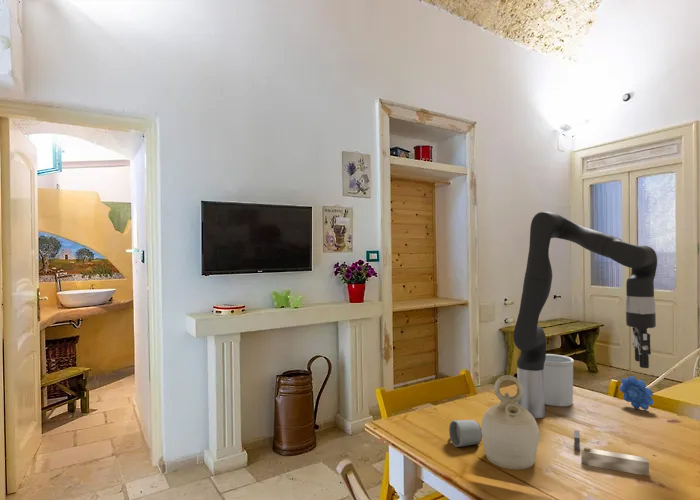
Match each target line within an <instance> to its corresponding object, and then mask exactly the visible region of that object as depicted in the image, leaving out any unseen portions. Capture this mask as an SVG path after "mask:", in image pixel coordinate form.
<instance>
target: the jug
mask: <svg viewBox="0 0 700 500" xmlns="http://www.w3.org/2000/svg"><path fill="white" fill-rule="evenodd" d="M506 382H512V383H513V384H514V385H515V386H516V387H517V388H518V391H517V390H516V394H515V395H513V396H510V393H508V392H505V393H504V394H503V395H502V393H501V392H500V387H501V385H502V384H503V383H506ZM517 388H516V389H517ZM493 390H494V391H493V392H494V395H495V396H496V397H497V399H499V400H500V402H499V403H497V404H494V405H492V406H490V407H489V408H488V409H487V410H485V412H484V414H483V417H482V419H481V424H480V427H481V433H482V443H483V448H484V453H485V456H486V459H487V460H488V461H489V463H491V464H494V465H495V466H497V467H500V468H503V469H509V470H517V471H518V470H526V469H529V468H532V467H533V466H534V464H535V461H536V457H537V453H538V447H539V440H540V430H539V427H538V422H537V421H536V418H534V417H533V416H532V414H531V413H530V412H528V411H527V410H526V409H524V408H523V407H521V406H519V405H518V403H517V401H518V400H519V399H520V398H521V397H522V395H523V387H522V384H521V382H520V381H519V380H518V379H517V377H515V376H514V375H509V374H505V375H502V376H500V377H498V378H497V380H496V381H495V383H494V386H493Z"/></svg>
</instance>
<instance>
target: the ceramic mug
mask: <svg viewBox="0 0 700 500" xmlns="http://www.w3.org/2000/svg"><path fill="white" fill-rule="evenodd" d="M448 427H449V428H448V432H449V437H450V441H451V443H452V445H453V446H454V447H457V448H462V447H467V446H474V445H478V444H480V443H481V442H482V440H483V438H482V433H481V424H480V423H479V422H478V421H476V420H474V419H459V420H458V419H455V420H451V422H450V423H449V426H448Z"/></svg>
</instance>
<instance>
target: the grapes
mask: <svg viewBox="0 0 700 500" xmlns="http://www.w3.org/2000/svg"><path fill="white" fill-rule="evenodd" d="M620 383H621V384H620V385H619V386H618V387H619V388H618V389H619V390H620V392H621V393H623V395H622V397H623V400H624V401H625V402H627V403H630V404H631V406H632V408H634V409H637V410H638V409H640V408H641V409H643V411H647V410H648V409H650V407H649V406H652V405H654V404H655V402H654V399H653V398H652V396H653V395H654V393H653V390H652V389H651V388H649V387H647V385H646V382H645V381H644V380H642V379H638V380H637V378H636V377H635V376H633V375H630V376H628V378H625V377H624V378H621V380H620Z"/></svg>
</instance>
